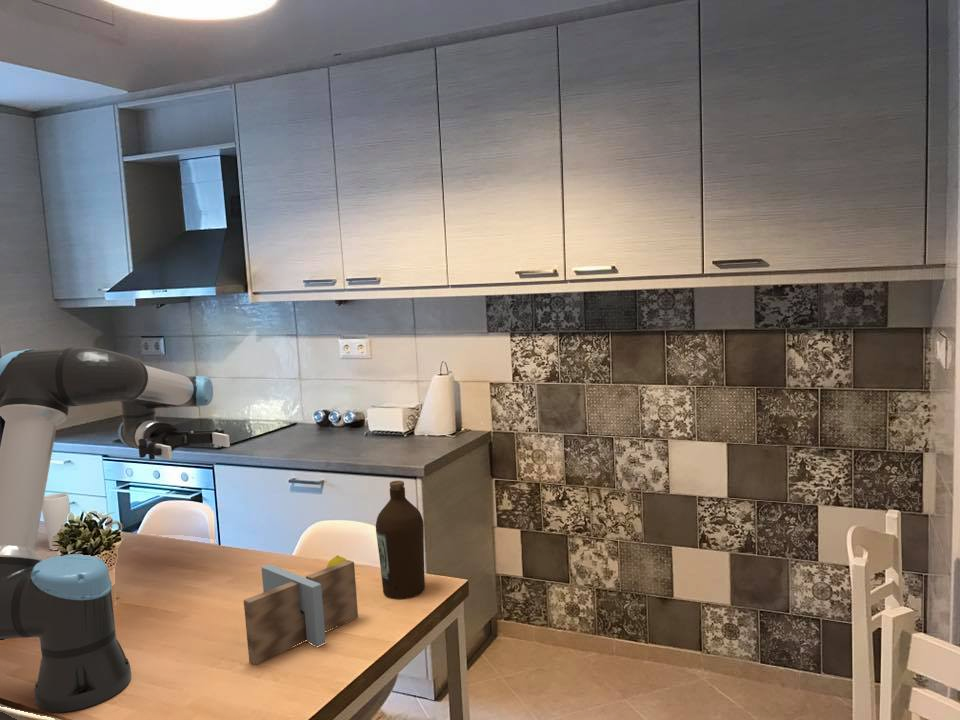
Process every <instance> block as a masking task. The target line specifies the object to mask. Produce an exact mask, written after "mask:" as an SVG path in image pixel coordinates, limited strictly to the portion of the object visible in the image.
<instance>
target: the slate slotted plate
mask: <svg viewBox="0 0 960 720" xmlns="http://www.w3.org/2000/svg"><path fill="white" fill-rule="evenodd" d="M261 576H262V577H261V579H262V589H263V592H266V591H268V590H271V589H274V588H276V587H279V586H282V585H284V584H287V583H289V582H294V583H297V584H298V592H299V604H300V610H302V611H304V612H305V624H306V637H307V641H308V642H310V643H312V644H313V645H315V646H319V645H321V644H323V643H325V642H326V643H327V641H326V633H325V626H324V614H323V601H322V589H321V584H320V583H317V582H314V581H312V580H309V579H307V578H306V577H305V576H301V575H299V574H296V573H294V572H290V571H288V570H286V569H283V568H281V567H278V566H276V565H273V564H270V563H269V564H267V565H264V566H261ZM307 641H306V642H307ZM313 645H312V646H313ZM315 646H314V647H315Z"/></svg>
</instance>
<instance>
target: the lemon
mask: <svg viewBox="0 0 960 720" xmlns="http://www.w3.org/2000/svg"><path fill="white" fill-rule="evenodd" d="M347 560H348V559H346V558H345V557H343V556H340V555H336V556H334V557H333V558H331V559H330V560H329V561H328V563H327V565H326V568H328V567H331V566H334V565H336V564H339V563H342V562H344V561H347Z"/></svg>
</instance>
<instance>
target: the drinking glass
mask: <svg viewBox="0 0 960 720" xmlns="http://www.w3.org/2000/svg"><path fill="white" fill-rule="evenodd" d="M70 505H71V504H70V499H69V494H68V493H67V492H66V493H65V492H64V493H62V492H61V493H53V494H48V495H46V496H45V495H44V500H43V506H42V511H41V514H42V517H43V522H44V528H45V532H46V536H47V540H48V547H49V549H50V548H54V546H52V544H51V542H52V538H53V536H55V535H56V534H57V532H58V531H59V530H60V529H61V525H64V524H66V522H67V516H68V514H69V513H70V514H71V507H70Z"/></svg>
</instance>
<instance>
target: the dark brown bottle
mask: <svg viewBox="0 0 960 720" xmlns="http://www.w3.org/2000/svg"><path fill="white" fill-rule="evenodd" d="M404 486H405V481H404V480H393V481H391V482H389V497H390V499H389V500H388V502H386V505H384V507H383V508H382V509H381V510H380V512H379V513H378V516H377V517H376V522H375V533H376V535H375V536H376V541H377V548H378V549H377V550H378V556H379V557H378V558H379V559H378V560H379V565H380V575H381V576H380V577H381V586H382V591H383V592H382V593H383V595H384V596H385V597H387V598H389V599H395V600H403V599H410V598H415V597H418V596H419V595H421V594H423V592H425V588H426V585H425V584H426V582H425V579H426V577H425V549H424V548H425V545H424V544H425V543H424V542H425V541H424V540H425V539H424V538H425V537H424V535H425V532H424V531H425V529H424V526H425V525H424V519H423V516H422V514H421V512H420V510H419V509H418V508H417V507H416V506H415V505H413V504H412V502H410V501H409V500H408V499H407V498H406V488H405V487H404Z"/></svg>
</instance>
